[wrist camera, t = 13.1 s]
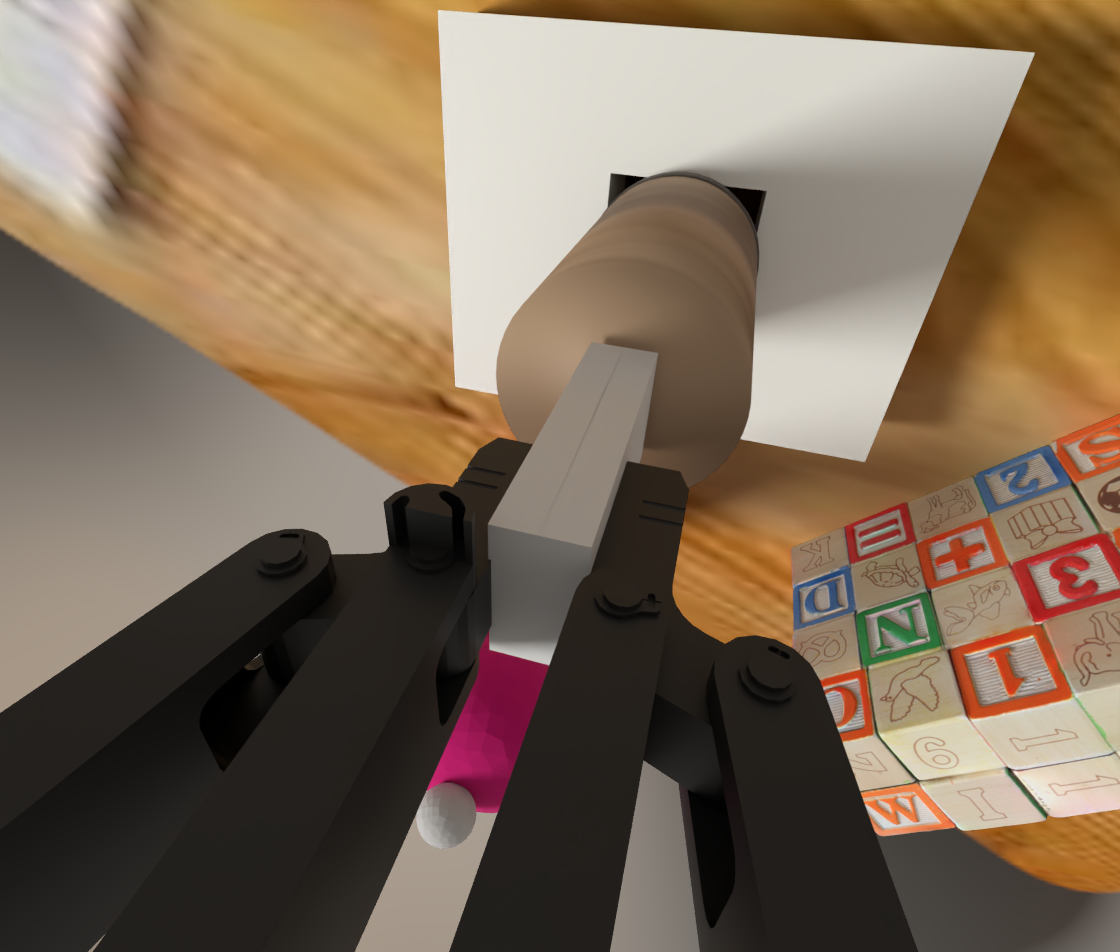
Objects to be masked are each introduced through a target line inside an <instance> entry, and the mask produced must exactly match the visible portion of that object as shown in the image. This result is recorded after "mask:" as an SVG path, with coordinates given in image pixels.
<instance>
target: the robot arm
mask: <svg viewBox="0 0 1120 952" xmlns="http://www.w3.org/2000/svg"><path fill="white" fill-rule="evenodd" d="M657 358H658V353H656V352H650V351H644V350H637V349H631V348H625V347H619V346H613V345H607V344H601V343H595V342H591V344H590V345H589V347H588V349H587V351H586V352H585V354H584V356H583V358H582V359H581V361H580V363H579V365H578V366H577V368H576V370H575V372H574V373H573V375H572V377H571V379H570V381H569V382H568V384H567V386H566V388H565V389H564V391H563V393H562V395H561V396H560V398H559V400H558V402H557V403H556V405H555V407H554V409H553V410H552V412H551V414H550V416H549V417H548V419H547V421H546V423H545V424H544V426H543V428H542V430H541V431H540V433H539V435H538V437H537V439H536V440H535V442H534V444H529V443H524V442H519V441H514V440H509V439H504V438H499V437H498V438H497V439H495V440H494V441H492V442H490V443H489V444H487V445H485V446H484V447H482V448H480V449H479V450H478V451H477V453H476V454H475V456H474V457H473V459H472V460H471V461H470V463H469V464H468V467H467V469H465V470H464V472H463V473H462V474H461V476H460V477H459V480H458V482H456V483H455V485H454V486H453V487H450V486H447V485H441V484H422V485H415V486H410V487H408V488H405V489H403V490H400V491H398V492H396V493H394V494H393V495H392V496H391V497H389V498H388V499H387V500H386V501H385V502H384V509H385V517H386V524H387V531H388V538H389V545H390V546H389V547H388V549H387V550H386V551H385V552H382V553H373V554H342V555H341V554H335V555H332V554H331V550H330V547H329V544H328V541H327V540H326V539H324V538H323V537H322V536H321V535H319V534H318V533H316V532H312V531H308V530H304V529H284V530H280V531H276V532H272V533H268V534H265V535H263V536H262V537H260V538H258V539H256V540H254V541H252V542H250V543H249V544H247V545H246V546H244V547H243V548H241V549H240V550H238V551H237V552H235V553H234V554H232V555H231V556H229V557H228V558H227V559H225V560H224V561H222V562H221V563H219V564H218V565H216V566H215V567H213V568H212V569H211V570H209V571H208V572H206V573H205V574H203V575H202V576H200V577H199V578H197V579H196V580H194V581H193V582H192V583H190V584H188V585H187V586H186V587H184V588H183V589H181V590H180V591H179V592H177V593H175V594H174V595H172V596H171V597H169V598H168V599H167V600H165V601H164V602H162V603H161V604H159V605H158V606H156V607H155V608H153V609H152V610H150V611H149V612H147V613H146V614H145V615H143V616H142V617H140V618H139V619H137V620H136V621H135V622H133V623H131V624H130V625H128V626H127V627H126V628H124V629H123V630H121V631H120V632H118V633H117V634H115V635H114V636H112V637H111V638H109V639H108V640H107V641H105V642H104V643H102V644H101V645H99V646H98V647H96V648H95V649H93V650H92V651H90V652H89V653H87V654H86V655H85V656H83V657H82V658H80V659H79V660H77V661H76V662H74V663H73V664H71V665H70V666H68V667H67V668H66V669H64V670H63V671H61V672H60V673H58V674H57V675H55V676H54V677H52V678H51V679H49V680H48V681H47V682H45V683H44V684H42V685H41V686H39V687H38V688H36V689H35V690H33V691H32V692H31V693H29V694H27V695H26V696H25V697H23V698H22V699H20V700H19V701H17V702H16V703H14V704H13V705H11V706H10V707H9V708H7V709H6V710H4V711H3V712H1V713H0V952H88V951H89V950H90V949H91V948H92V947H93V946H94V945H95V944H96V943H97V942H98V941H99V940H100V939H101V937H102V936H103V935H105V936H104V937H103V938H102V940H101V941H100V943H99V944H98V945H97V947H96V948H95V949H94V951H93V952H355V950H356V947H357V945H358V943H359V941H360V938H361V936H362V934H363V932H364V930H365V927H366V925H367V923H368V920H369V918H370V916H371V914H372V911H373V909H374V907H375V905H376V903H377V900H378V898H379V896H380V893H381V891H382V889H383V887H384V885H385V882H386V880H387V878H388V876H389V874H390V871H391V869H392V867H393V865H394V862H395V860H396V858H397V856H398V853H399V851H400V849H401V847H402V844H403V842H404V840H405V838H406V835H407V833H408V831H409V829H410V827H411V824H412V822H413V820H414V818H415V815H416V813H417V811H418V809H419V806H420V804H421V802H422V800H423V798H424V795H425V793H426V791H427V789H428V786H429V784H430V782H431V780H432V777H433V775H434V773H435V771H436V768H437V766H438V764H439V762H440V759H441V757H442V755H443V753H444V750H445V748H446V746H447V744H448V742H449V739H450V737H451V735H452V733H453V730H454V728H455V726H456V724H457V721H458V719H459V717H460V715H461V712H462V710H463V708H464V706H465V703H466V701H467V699H468V697H469V695H470V692H471V690H472V688H473V686H474V683H475V681H476V679H477V675H478V670H479V651H480V649H481V647H482V644H483V642H484V640H485V638H486V636H487V634H488V632H489V647H490V650H493V651H497V652H500V653H504V654H508V655H512V656H516V657H520V658H523V659H527V660H531V661H535V662H539V663H542V664H546V665H549V668H548V670H547V673H546V676H545V679H544V682H543V685H542V688H541V690H540V693H539V696H538V699H537V702H536V705H535V708H534V710H533V713H532V716H531V719H530V722H529V725H528V728H527V730H526V733H525V736H524V739H523V742H522V745H521V748H520V750H519V753H518V756H517V759H516V762H515V765H514V768H513V771H512V773H511V776H510V779H509V782H508V785H507V788H506V791H505V793H504V796H503V799H502V802H501V805H500V808H499V811H498V813H497V816H496V819H495V822H494V825H493V828H492V831H491V834H490V837H489V839H488V842H487V845H486V848H485V851H484V854H483V857H482V859H481V862H480V865H479V868H478V871H477V874H476V876H475V879H474V882H473V885H472V888H471V891H470V894H469V897H468V899H467V902H466V905H465V908H464V911H463V914H462V917H461V920H460V922H459V925H458V928H457V931H456V934H455V937H454V940H453V943H452V945H451V948H450V951H449V952H610V947H611V942H612V936H613V930H614V925H615V919H616V913H617V908H618V902H619V896H620V890H621V885H622V879H623V873H624V868H625V862H626V855H627V850H628V845H629V838H630V833H631V828H632V822H633V816H634V810H635V805H636V799H637V793H638V787H639V781H640V776H641V770H642V764H643V760H644V761H646V762H647V763H649V764H650V765H652V766H653V767H655V768H656V769H658V770H659V771H661V772H662V773H664V774H665V775H667V776H668V777H670V778H671V779H673V780H675V781H676V782H678V783H679V791H680V799H681V807H682V815H683V822H684V830H685V838H686V845H687V854H688V862H689V870H690V877H691V885H692V893H693V901H694V908H695V917H696V924H697V933H698V940H699V948H700V952H918V950H917V947H916V944H915V942H914V939H913V936H912V933H911V931H910V928H909V925H908V922H907V920H906V917H905V914H904V911H903V909H902V906H901V903H900V900H899V897H898V895H897V892H896V889H895V886H894V883H893V881H892V878H891V875H890V873H889V870H888V867H887V864H886V862H885V859H884V856H883V853H882V850H881V848H880V845H879V842H878V839H877V836H876V834H875V831H874V828H873V825H872V822H871V820H870V817H869V814H868V811H867V809H866V806H865V803H864V800H863V798H862V795H861V792H860V789H859V786H858V784H857V781H856V778H855V775H854V773H853V770H852V767H851V764H850V761H849V759H848V756H847V753H846V750H845V748H844V745H843V742H842V739H841V737H840V734H839V731H838V728H837V725H836V723H835V720H834V717H833V714H832V712H831V709H830V706H829V703H828V700H827V698H826V695H825V692H824V689H823V687H822V684H821V681H820V679H819V677H818V676H817V674H816V672H815V671H814V669H813V667H812V666H811V664H810V663H809V662H808V661H807V660H806V659H805V658H804V657H803V656H801V655H800V654H799V653H798V652H797V651H796V650H795V649H793V648H791V647H789V646H787V645H785V644H783V643H781V642H779V641H777V640H775V639H770V638H766V637H761V636H756V635H755V636H745V637H737V638H735V639H733V640H731V641H730V642H728V643H726V644H724V643H722V642H721V641H719V640H717V639H715V638H713V637H711V636H709V635H707V634H706V633H704V632H702V631H701V630H699V629H698V628H696V627H695V626H693V625H692V624H691V623H690V622H689V621H688V620H687V619H686V618H685V617H684V616H683V615H682V613H681V612H680V610H679V609H678V607H677V606H676V604H675V601H674V598H673V595H672V584H673V578H674V573H675V567H676V561H677V555H678V550H679V544H680V538H681V532H682V526H683V521H684V515H685V509H686V503H687V498H688V492H689V489H688V487H687V485H686V483H685V481H684V478H683V476H682V474H681V472H680V471H675V470H670V469H665V468H660V467H655V466H650V465H645V464H640V460H641V457H642V451H643V445H644V439H645V432H646V426H647V420H648V414H649V407H650V401H651V395H652V389H653V383H654V376H655V370H656V364H657ZM259 654H260V655H259ZM258 655H259V656H258ZM256 656H258V657H257V658H255V657H256ZM254 658H255V659H254ZM253 659H254V660H253Z"/></svg>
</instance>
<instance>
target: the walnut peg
mask: <svg viewBox="0 0 1120 952" xmlns="http://www.w3.org/2000/svg"><path fill="white" fill-rule="evenodd" d="M758 269H759V243H758V237H757V233H756V229H755V226H754V224H753V221H752V219H751V217H750V215H749V213H748V212H747V210H746V208H745V207H744V205H743V204H742V203H741V202H740V200H739V199H738V198H737V197H736V196H735V195H734V194H733V193H732V192H731V191H730V190H729V189H727V188H726V187H725V186H723V185H722V184H720V183H719V182H717V181H715V180H713V179H711V178H709V177H706V176H703V175H700V174H695V173H690V172H667V173H661V174H657V175H653V176H650V177H647V178H645V179H642V180H640V181H638V182H636V183H635V184H633V185H631V186H630V187H628V188H627V189H626V190H624V191H623V192H622V193H621V194H620V195H619V196H618V197H617V198H616V199H615V200H614V201H613V202H612V203H611V204H610V205H609V206H608V208H607V209H606V210H605V211H604V213H603V214H602V216H601V217H600V218H599V219H598V221H597V222H596V223H595V224H594V225H593V226H592V227H591V228H590V229H589V231H588V232H587V233H586V234H585V235H584V236H583V237H582V238H581V240H580V241H579V242H578V243H577V244H576V245H575V246H574V247H573V248H572V250H571V251H570V252H569V253H568V254H567V255H566V256H565V257H564V259H563V260H562V261H561V262H560V263H559V264H558V265H557V266H556V267H555V269H554V270H553V271H552V272H551V273H550V274H549V275H548V276H547V278H546V279H545V280H544V281H543V282H542V283H541V284H540V285H539V287H538V288H537V289H536V290H535V291H534V292H533V293H532V294H531V295H530V297H529V298H528V299H527V300H526V301H525V302H524V303H523V304H522V306H521V307H520V308H519V310H518V311H517V312H516V314H515V315H514V316H513V317H512V319H511V321H510V323H509V325H508V327H507V328H506V330H505V333H504V335H503V338H502V341H501V343H500V347H499V352H498V357H497V365H496V382H497V391H498V396H499V401H500V405H501V408H502V411H503V413H504V416H505V419H506V421H507V423H508V425H509V427H510V429H511V431H512V432H513V434H514V435H515V437H516V438H517V440H518V441H519V442H524V443H529V444H534V442H535V440H536V439H537V437H538V435H539V433H540V431H541V430H542V428H543V426H544V424H545V423H546V421H547V419H548V417H549V416H550V414H551V412H552V410H553V409H554V407H555V405H556V403H557V402H558V400H559V398H560V396H561V395H562V393H563V391H564V389H565V388H566V386H567V384H568V382H569V381H570V379H571V377H572V375H573V373H574V372H575V370H576V368H577V366H578V365H579V363H580V361H581V359H582V358H583V356H584V354H585V352H586V351H587V349H588V347H589V345H590V344H591V342H595V343H601V344H607V345H613V346H619V347H625V348H631V349H637V350H644V351H650V352H656V353H658V358H657V364H656V370H655V376H654V383H653V389H652V395H651V401H650V407H649V414H648V420H647V426H646V432H645V439H644V445H643V451H642V457H641V460H640V464H645V465H650V466H655V467H660V468H665V469H670V470H675V471H680V472H681V474H682V476H683V478H684V481H685V483H686V485H687V487H688V488H690V487H692V486H694V485H695V484H697V483H699V482H700V481H702V480H704V479H705V478H707V477H708V476H709V475H711V474H712V473H713V472H714V471H716V470H717V469H718V468H719V467H720V466H721V465H722V464H723V463H724V462H725V461H726V460H727V458H728V457H729V456H730V454H731V453H732V452H733V450H734V449H735V448H736V446H737V444H738V442H739V440H740V438H741V437H742V435H743V432H744V429H745V427H746V424H747V421H748V417H749V412H750V407H751V394H752V372H753V350H754V328H755V306H756V284H757V275H758Z"/></svg>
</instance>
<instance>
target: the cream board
mask: <svg viewBox="0 0 1120 952" xmlns="http://www.w3.org/2000/svg"><path fill="white" fill-rule="evenodd" d="M438 24H439V45H440V67H441V88H442V110H443V131H444V153H445V174H446V196H447V217H448V239H449V260H450V282H451V304H452V325H453V347H454V368H455V387H460V388H465V389H471V390H476V391H482V392H487V393H493V394H498V391H497V382H496V365H497V357H498V352H499V347H500V343H501V341H502V338H503V335H504V333H505V330H506V328H507V327H508V325H509V323H510V321H511V319H512V317H513V316H514V315H515V314H516V312H517V311H518V310H519V308H520V307H521V306H522V304H523V303H524V302H525V301H526V300H527V299H528V298H529V297H530V295H531V294H532V293H533V292H534V291H535V290H536V289H537V288H538V287H539V285H540V284H541V283H542V282H543V281H544V280H545V279H546V278H547V276H548V275H549V274H550V273H551V272H552V271H553V270H554V269H555V267H556V266H557V265H558V264H559V263H560V262H561V261H562V260H563V259H564V257H565V256H566V255H567V254H568V253H569V252H570V251H571V250H572V248H573V247H574V246H575V245H576V244H577V243H578V242H579V241H580V240H581V238H582V237H583V236H584V235H585V234H586V233H587V232H588V231H589V229H590V228H591V227H592V226H593V225H594V224H595V223H596V222H597V221H598V219H599V218H600V217H601V216H602V214H603V213H604V211H605V210H606V209H607V208H608V206H609V205H610V204H611V203H612V202H613V201H614V200H615V199H616V198H617V197H618V196H619V195H620V194H621V193H622V192H623V191H624V190H625V180H626V175H632V176H641V177H650V176H653V175H657V174H661V173H667V172H690V173H695V174H700V175H703V176H706V177H709V178H711V179H713V180H715V181H717V182H719V183H720V184H722V185H723V186H728V187H737V188H746V189H754V190H763V192H762V197H761V201H760V206H759V210H758V214H757V219H756V223H755V229H756V233H757V237H758V243H759V269H758V275H757V284H756V306H755V328H754V350H753V372H752V394H751V407H750V412H749V417H748V421H747V424H746V427H745V429H744V432H743V435H742V437H741V438H740V439H742V440H748V441H753V442H758V443H764V444H769V445H775V446H780V447H786V448H791V449H796V450H802V451H807V452H813V453H818V454H824V455H829V456H834V457H840V458H845V459H851V460H856V461H861V462H865V461H866V458H867V456H868V453H869V451H870V449H871V446H872V444H873V441H874V439H875V437H876V434H877V432H878V429H879V427H880V425H881V422H882V420H883V417H884V415H885V413H886V410H887V408H888V405H889V403H890V401H891V398H892V396H893V393H894V391H895V389H896V386H897V384H898V381H899V379H900V376H901V374H902V372H903V369H904V367H905V364H906V362H907V360H908V357H909V355H910V352H911V350H912V348H913V345H914V343H915V340H916V338H917V336H918V333H919V331H920V328H921V326H922V324H923V321H924V319H925V316H926V314H927V312H928V309H929V307H930V304H931V302H932V300H933V297H934V295H935V292H936V290H937V288H938V285H939V283H940V280H941V278H942V275H943V273H944V271H945V268H946V266H947V263H948V261H949V259H950V256H951V254H952V251H953V249H954V247H955V244H956V242H957V239H958V237H959V235H960V232H961V230H962V227H963V225H964V223H965V220H966V218H967V215H968V213H969V211H970V208H971V206H972V203H973V201H974V199H975V196H976V194H977V191H978V189H979V187H980V184H981V182H982V179H983V177H984V174H985V172H986V170H987V167H988V165H989V162H990V160H991V158H992V155H993V153H994V150H995V148H996V146H997V143H998V141H999V138H1000V136H1001V134H1002V131H1003V129H1004V126H1005V124H1006V122H1007V119H1008V117H1009V114H1010V112H1011V110H1012V107H1013V105H1014V102H1015V100H1016V98H1017V95H1018V93H1019V90H1020V88H1021V85H1022V83H1023V81H1024V78H1025V76H1026V73H1027V71H1028V69H1029V66H1030V64H1031V61H1032V59H1033V57H1034V54H1035V53H1034V52H1022V51H1010V50H999V49H985V48H970V47H956V46H942V45H928V44H914V43H900V42H886V41H872V40H857V39H843V38H829V37H815V36H801V35H787V34H773V33H758V32H744V31H730V30H716V29H702V28H688V27H674V26H660V25H645V24H631V23H617V22H603V21H589V20H575V19H561V18H547V17H532V16H518V15H504V14H490V13H476V12H459V11H442V10H438Z"/></svg>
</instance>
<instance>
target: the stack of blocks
mask: <svg viewBox="0 0 1120 952" xmlns="http://www.w3.org/2000/svg"><path fill="white" fill-rule="evenodd" d="M791 562H792V586H793V588H794V589H793V613H794V634H793V649H795V650H796V651H797V652H798V653H799V654H800V655H801V656H803V657H804V658H805V659H806V660H807V661H808V662H809V663H810V664H811V666H812V667H813V669H814V671H815V672H816V674H817V676H818V677H819V679H820V681H821V684H822V687H823V689H824V692H825V695H826V698H827V700H828V703H829V706H830V709H831V712H832V714H833V717H834V720H835V723H836V725H837V728H838V731H839V734H840V737H841V739H842V742H843V745H844V748H845V750H846V753H847V756H848V759H849V761H850V764H851V767H852V770H853V773H854V775H855V778H856V781H857V784H858V786H859V789H860V792H861V795H862V798H863V800H864V803H865V806H866V809H867V811H868V814H869V817H870V820H871V822H872V825H873V828H874V831H875V832H876V833H877V834H879V835H881V836H889V835H897V834H905V833H912V832H920V831H932V830H938V829H947V828H954V827H956V826H957V827H958V828H959V829H961V830H964V831H968V830H977V829H985V828H993V827H1002V826H1010V825H1018V824H1026V823H1033V822H1040V821H1044V820H1046V819H1047V815H1050V816H1053V817H1067V816H1074V815H1081V814H1087V813H1096V812H1105V811H1110V810H1117V809H1120V415H1117V416H1114V417H1112V418H1109V419H1107V420H1104V421H1102V422H1099V423H1097V424H1094V425H1092V426H1089V427H1087V428H1084V429H1082V430H1079V431H1077V432H1074V433H1072V434H1069V435H1067V436H1065V437H1062V438H1060V439H1057V440H1055V441H1052V442H1051V443H1050V445H1049V446H1044V447H1041V448H1039V449H1036V450H1034V451H1031V452H1029V453H1026V454H1024V455H1022V456H1019V457H1017V458H1014V459H1012V460H1009V461H1007V462H1005V463H1002V464H1000V465H997V466H995V467H992V468H990V469H987V470H985V471H982V472H979V473H978V474H976V475H975V476H973V477H969V478H966V479H964V480H961V481H959V482H956V483H954V484H952V485H949V486H947V487H944V488H942V489H939V490H937V491H934V492H932V493H930V494H927V495H924V496H922V497H920V498H917V499H915V500H912V501H910V502H908V503H902V504H899V505H897V506H894V507H892V508H889V509H887V510H884V511H882V512H879V513H877V514H875V515H872V516H870V517H867V518H865V519H862V520H860V521H857V522H855V523H852V524H850V525H848V526H845V527H843V528H839V529H837V530H834V531H832V532H829V533H827V534H824V535H822V536H819V537H817V538H814V539H812V540H809V541H807V542H804V543H802V544H800V545H797V546H795V547H793V548H792V549H791Z"/></svg>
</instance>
